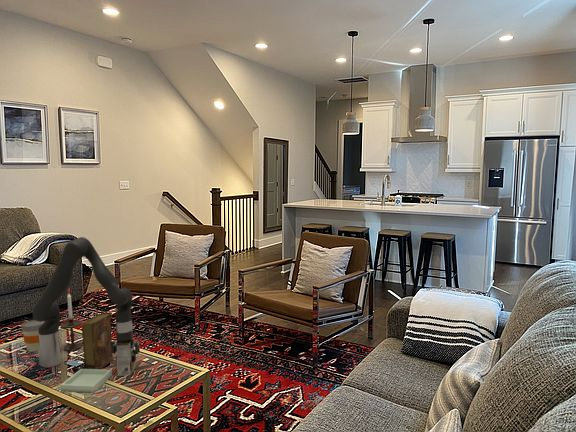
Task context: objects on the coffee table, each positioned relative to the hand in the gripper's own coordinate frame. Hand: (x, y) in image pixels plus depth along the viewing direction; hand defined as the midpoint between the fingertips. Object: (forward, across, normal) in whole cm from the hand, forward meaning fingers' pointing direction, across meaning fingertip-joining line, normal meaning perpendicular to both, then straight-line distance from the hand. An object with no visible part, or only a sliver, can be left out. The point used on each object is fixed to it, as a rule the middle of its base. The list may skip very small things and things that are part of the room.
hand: (126, 361), depth 214 cm
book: (+5, -17, +5) cm, 19 cm away
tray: (+5, -13, -13) cm, 19 cm away
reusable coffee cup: (+5, -66, +23) cm, 70 cm away
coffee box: (+5, 0, 0) cm, 5 cm away
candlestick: (+5, -45, +25) cm, 52 cm away
